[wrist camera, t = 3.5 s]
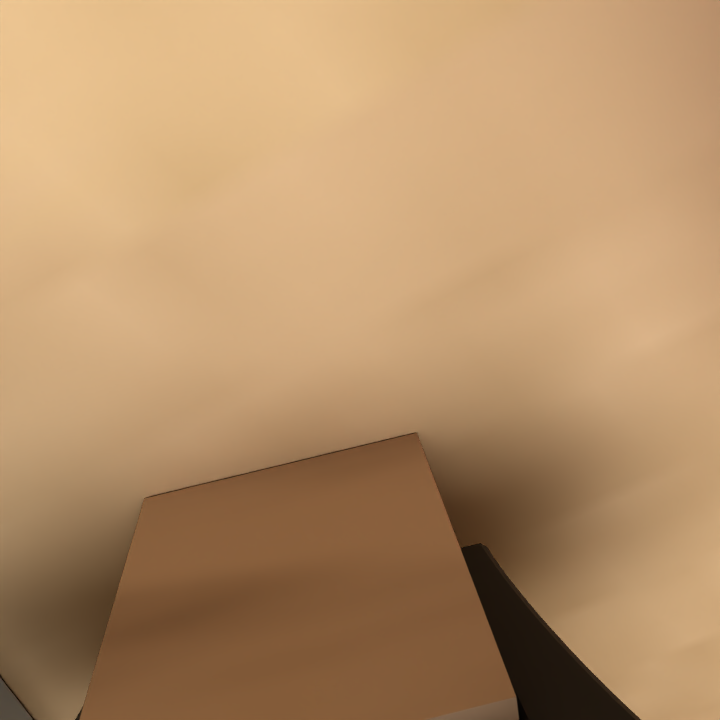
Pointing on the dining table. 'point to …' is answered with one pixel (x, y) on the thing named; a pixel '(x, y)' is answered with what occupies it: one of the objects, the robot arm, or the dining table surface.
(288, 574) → the lettered cube
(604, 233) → the dining table surface
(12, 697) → the grey long block
